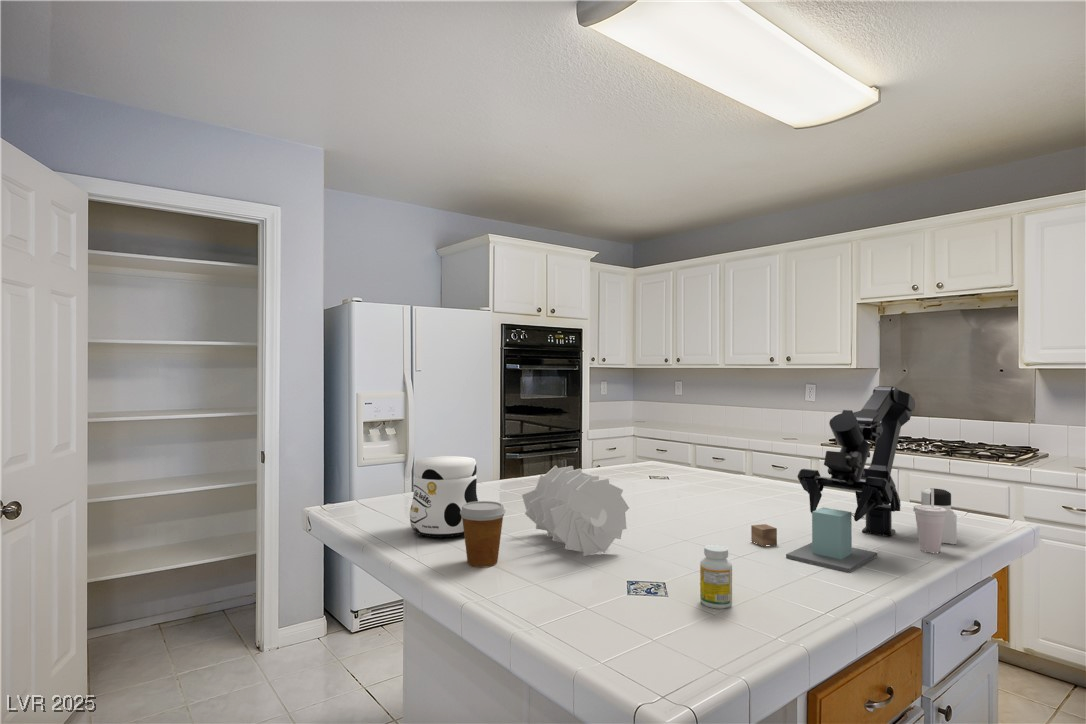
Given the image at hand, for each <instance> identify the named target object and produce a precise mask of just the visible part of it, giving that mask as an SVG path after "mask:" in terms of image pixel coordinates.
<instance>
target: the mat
mask: <svg viewBox="0 0 1086 724" xmlns="http://www.w3.org/2000/svg"><path fill="white" fill-rule="evenodd" d="M876 557H878V552H877V551H872V550H867V549H862V548H859V547H853V546H852V554H850V555H848V556H846V557H845V558H843V559H837V558H832V557H828V556H823V555H818V554H814V553H812V542H809V543H808V544H806V545H803V546H801V547H799V548H797V549H794V550H792V551H790V552H788V553H786V554H785V558H786V559H789V558H790V559H789V560H793V559H794V561H797V560H799V561H798V562H801V561H802V562H801V563H806V562H807V563H806V564H810V563H811V564H810V565H814V564H815V566H818V565H819V567H824V568H828V569H831V570H837V571H839V572H844V573H848V572H849V573H851V572H853V571H855V570H857V569H858V568H861V567H862V566H864V565H866V564H867V563H868V562H870V561H872V560H873V559H875V558H876Z"/></svg>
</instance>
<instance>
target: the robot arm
mask: <svg viewBox="0 0 1086 724" xmlns="http://www.w3.org/2000/svg"><path fill="white" fill-rule="evenodd" d="M915 408H916V401H915V398H914V397H913V396H912V395H911V394H910V393H908V392H905V391H902V390H900V389H898V388H897V387H894V386H893V385H892V386H888V385H887V386H885V385H884V386H883V385H879V386H878V385H877V386H875V387H874V388H873V390H872V394H871V395H870V397H869V399H868V400H867V401H866V403H865V404H864V406H862V408H861V409H860V410H857V411H854V412H853V410H850V409H842V411H841V413H838V414H836V415H834V416H833V417H832V418H830V420H829V422H828V423H829V427H830V429H831V432H832V434H833V436H834V439H835V441H836V443H837V445H839V446H841V448H840V450H839V451H834V450H826V451H825V456H824V462H823V465H824V466H825V467H827V473H828V475H830V477H829V476H822V475H821V474H820V471H819V470H817V469H809V468H801V469H800V470H799V471H798V474H797V475H796V477H797V478H798V480H799V483H800V485H801V487H802V489H803V490H804V491H806V492H807V493H808V495H809V498H808V499H809V511H810V514H812V512H813V511H815V510H818V506H819V504H820V501H821V498H822V496H823V494H822V492H823V490H824V487H827V488H834V489H835V488H836V489H841V490H845V491H852V492H854V493H855V498H856V504H857V505H856V506H857V507H856V509H855V512H854V516H853V520H854V522H858V521H859V520H860V519H862V518H863V517H864V516H865V527H864V528H863V529H862V530H861V532H862V533H863V534H864V533H866V534H872V535H878V536H884V537H893V535H894V534H895V533H896V529H894V528H893V527H892V526H893V525H892V523H893V521H892V520H893V519H892V513H895V512H901V505H902V504H901V498H900V496H899V493H898V490H897V488H896V484H895V482H894V479H893V478H892V474H891V473H892V470H893V464H894V461H895V456H896V451H897V448H898V447H897V446H898V442H899V438H900V437H899V436H900V433H901V428H902V427H903V426H904V425H905V424H906V423H907V422H909V421H910V419H911V417H912V414H913V412H914V411H915V410H916V409H915ZM869 442H875V445H874V449H873V454H872V457H871V451H870V450H871V445H870V444H869ZM870 457H871V458H872V459H871V462H870V465H869V467H867V468H866V467H865V466H866V463H867V460H868V458H870Z"/></svg>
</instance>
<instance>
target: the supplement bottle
mask: <svg viewBox="0 0 1086 724" xmlns="http://www.w3.org/2000/svg"><path fill="white" fill-rule="evenodd" d="M703 548H704V549H703V551H704V552H703V553H704V556H705V557H703V558H702V559H701V560H700V563H699V566H700V567H699V569H700V570H699V571H700V578H699V580H700V583H699V585H700V589H699V590H700V594H699V595H700V601H701V604H702V605H704V606H706V607H709V608H712V609H719V610H721V609H722V610H723V609H724V610H725V609H728V608H730V607H731V606H733V605H732V604H733V564H732V562H731V561H730V559H728V557H729V549H728V547H726V546H723V545H720V544H708V545H707V544H706V545H704V547H703Z"/></svg>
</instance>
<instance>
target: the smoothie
mask: <svg viewBox="0 0 1086 724" xmlns="http://www.w3.org/2000/svg"><path fill="white" fill-rule="evenodd" d="M912 510H913V512H914V515H915V522H916V530H917V529H918V534H917V535H918V542H919V549H920V551H921V550H922V551H921V552H924V551H926V552H925V553H927V552H934V553H933V554H938V553H937V552H941V547H942V543H941V541H942V533H943V526H944V519H945V515H946V514H947V512H946V511H947V510H946V509H945V508H942V507H937V506H934V489H931V505H921V504H916V505H914V506H913V509H912Z"/></svg>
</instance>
